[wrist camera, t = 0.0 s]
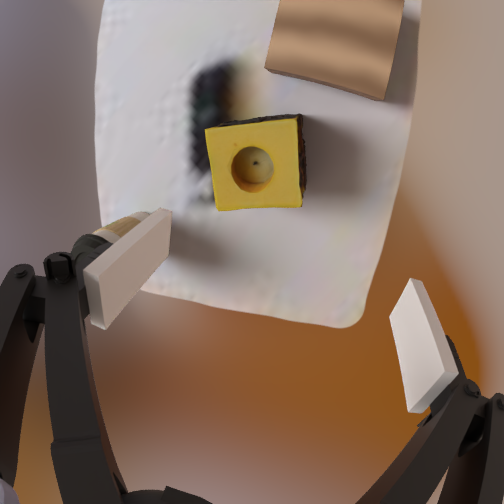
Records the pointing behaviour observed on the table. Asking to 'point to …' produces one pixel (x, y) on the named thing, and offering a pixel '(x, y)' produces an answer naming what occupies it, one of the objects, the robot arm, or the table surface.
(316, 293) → the table surface
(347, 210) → the table surface
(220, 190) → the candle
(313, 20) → the wooden box
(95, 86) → the table surface
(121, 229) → the coffee cup
